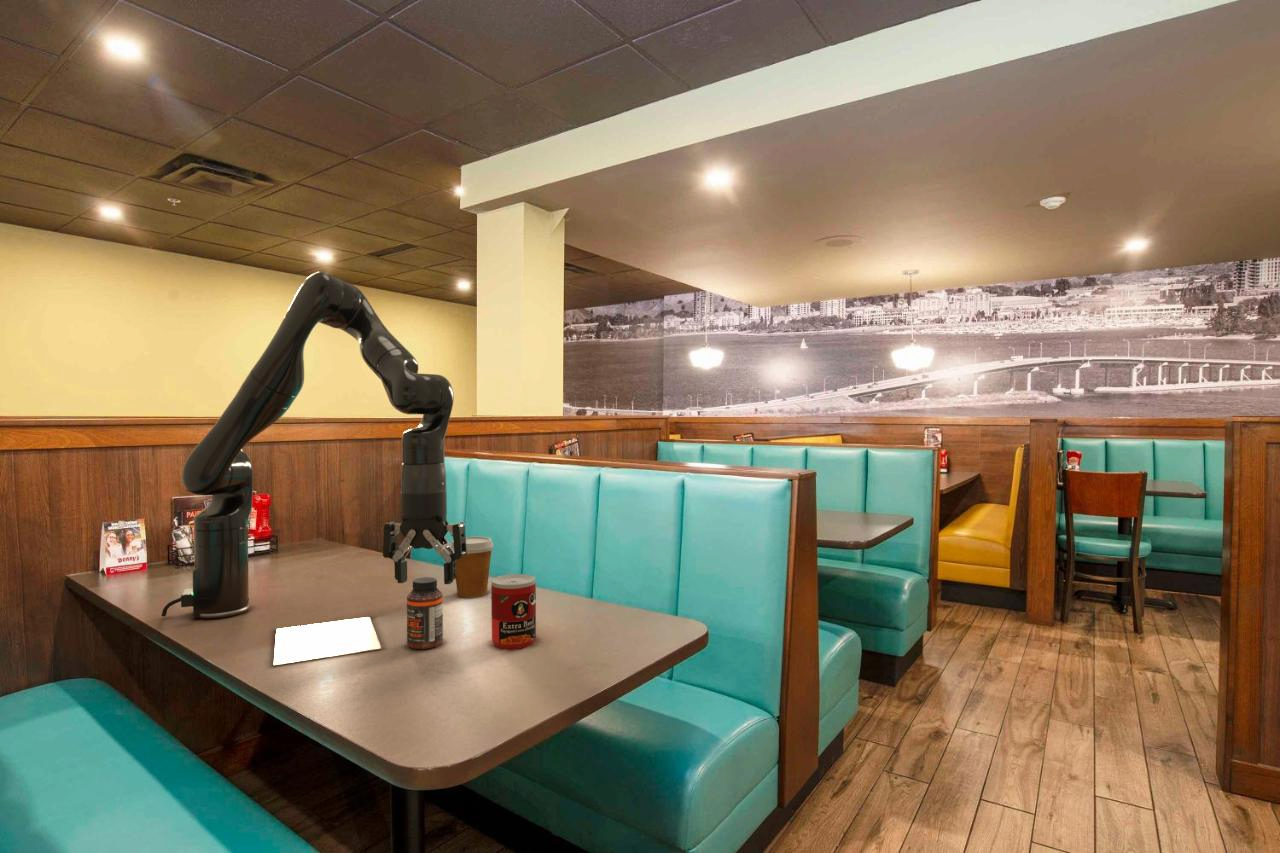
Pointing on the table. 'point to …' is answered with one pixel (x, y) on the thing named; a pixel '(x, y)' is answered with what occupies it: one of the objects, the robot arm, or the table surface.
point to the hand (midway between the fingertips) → (425, 582)
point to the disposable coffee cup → (474, 567)
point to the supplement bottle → (424, 614)
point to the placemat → (324, 640)
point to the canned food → (513, 611)
